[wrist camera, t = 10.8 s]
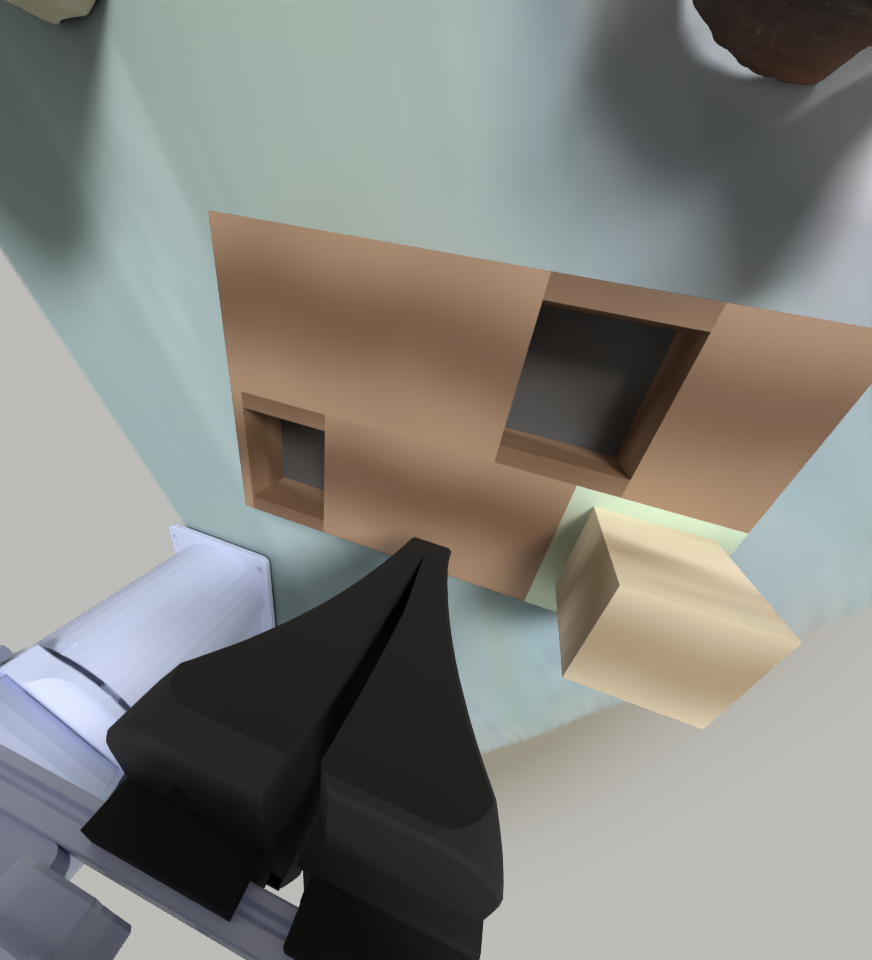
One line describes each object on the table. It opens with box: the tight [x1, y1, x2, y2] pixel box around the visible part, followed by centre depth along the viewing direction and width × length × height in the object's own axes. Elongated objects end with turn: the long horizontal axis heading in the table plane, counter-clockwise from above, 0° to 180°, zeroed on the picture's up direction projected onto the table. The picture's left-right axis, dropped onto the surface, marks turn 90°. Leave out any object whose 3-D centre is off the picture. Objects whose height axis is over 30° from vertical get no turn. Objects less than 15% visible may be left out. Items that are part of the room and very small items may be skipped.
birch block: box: [555, 507, 801, 729], centre depth 10 cm, size 4×4×4 cm
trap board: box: [208, 210, 872, 612], centre depth 13 cm, size 12×20×2 cm, turn 79°
